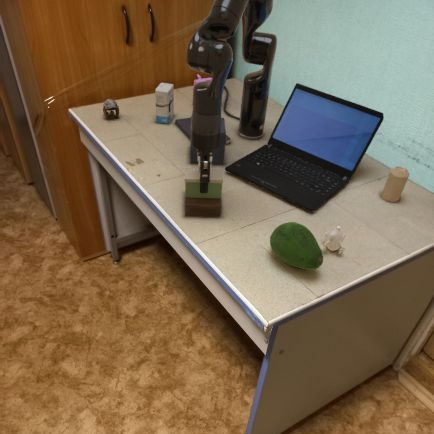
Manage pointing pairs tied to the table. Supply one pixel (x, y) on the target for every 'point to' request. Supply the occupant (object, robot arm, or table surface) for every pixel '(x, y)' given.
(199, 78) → the teapot
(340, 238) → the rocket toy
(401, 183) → the candle
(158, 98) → the ink box
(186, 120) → the notebook
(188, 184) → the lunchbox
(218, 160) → the blue box
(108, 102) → the helmet
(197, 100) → the robot arm
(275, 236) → the fruit
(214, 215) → the low shelf
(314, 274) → the table surface
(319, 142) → the laptop
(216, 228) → the table surface
